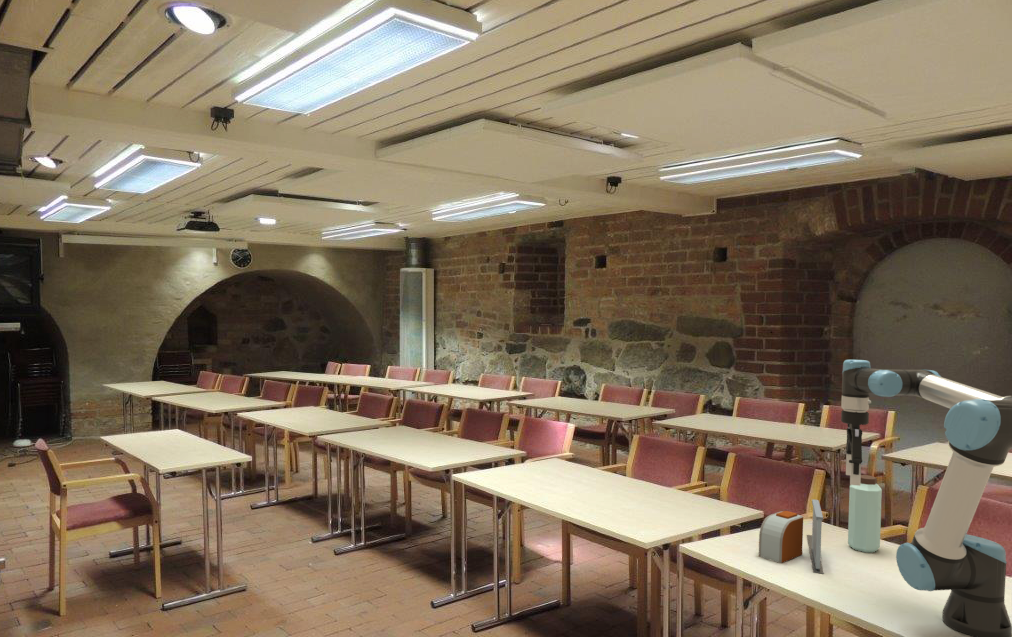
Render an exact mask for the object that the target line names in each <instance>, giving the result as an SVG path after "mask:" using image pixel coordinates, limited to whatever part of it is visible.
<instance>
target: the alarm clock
mask: <svg viewBox="0 0 1012 637" xmlns="http://www.w3.org/2000/svg"><path fill="white" fill-rule="evenodd" d="M803 536H804V516H803V515H800V514H798V513H797V512H793V511H788V510H783V511H782V510H781V511H778V512H774V513H772V514H769V515H767V516H766V517H765V518H764V520H763V521H762V523H761V525H760V530H759V534H758V537H759V538H758V541H759V542H758V557H760V558H763V559H766V560H770V561H771V562H772V561H773V562H776V563H779V564H783V563H786V562H788V561H790V560H792V559H795V558H797V557H800V556H802V555H803V540H804V539H803V538H804V537H803Z"/></svg>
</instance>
